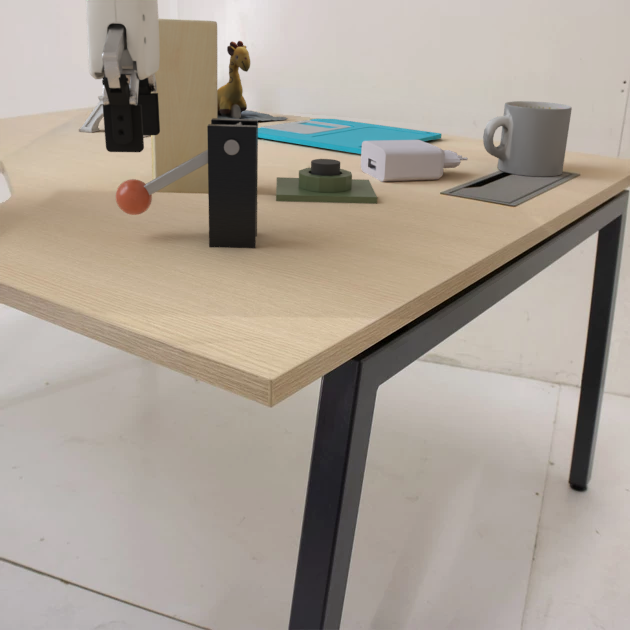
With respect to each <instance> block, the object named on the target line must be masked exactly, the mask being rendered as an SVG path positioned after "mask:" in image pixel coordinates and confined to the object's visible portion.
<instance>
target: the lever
mask: <svg viewBox="0 0 630 630" xmlns="http://www.w3.org/2000/svg"><path fill="white" fill-rule="evenodd" d="M236 125H242V123H241V122H239V123H237V124H236ZM207 163H208V150H206V151H204V152H202V153H200V154H199V155H197V156H195V157H193V158H191V159H190V160H188V161H186V162H184V163H182V164H181V165H179V166H177V167H175V168H173V169H172V170H170V171H168V172H166V173H164V174H163V175H161V176H159V177H157V178H155V179H154V180H152V179H151V180H150V181H148V182H147V183H145V182H144V181H143V180H140V179H136V178H135V179H134V178H132V179H131V178H130V179H126V180H124V181H122V182H121V183H120V185H118V187H117V189H116V190H115V191H116V192H115V202H116V205H117V206H118V208H119V209H120V210H121V211H122V212H123V213H125V214H127V215H129V216H130V215H131V216H138V215H142V214H144V213H145V212H147V211H148V209H149V208H150V207H151V205H152V201H153V194H155V193H158V192H157V191H158V190H160V189H162V188H164V187H166V186H167V185H169V184H171V183H173V182H175V181H176V180H178V179H180V178H182V177H184V176H185V175H187V174H189V173H191V172H193V171H195V170H196V169H198V168H200V167H202V166H204V165H205V164H207Z"/></svg>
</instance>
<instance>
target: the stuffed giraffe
mask: <svg viewBox="0 0 630 630" xmlns="http://www.w3.org/2000/svg"><path fill="white" fill-rule="evenodd" d="M226 52H227V54H228V55H229V56H230V58H229V64H228V76H229V78H228V82H227V83H225V84H224V85H222V86H221V87H219V88H217V118H221V119H255V120H258V122H259V121H261V122H265V121H285V120H288V119H289V118H288V117H286V116H273V115H270V114H269V113H263V112H259V111H254V110H248V109H247V108H248V105H247V101H246V99H245V97H244V95H243V92H244V90H243V86H242V80H241V77H240V73H239V69H241V71H242V72H246V73H248V71H249V70H250V68H251V57H250V53H249V51H248V49H247V46H246V45H245V44H244V42H243V41H241V40H238V41H237V43H236V42H235V41H230V42H229V45H227V47H226Z"/></svg>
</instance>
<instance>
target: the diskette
mask: <svg viewBox="0 0 630 630" xmlns="http://www.w3.org/2000/svg"><path fill="white" fill-rule="evenodd" d="M258 139H264V140H270V141H271V140H273V141H277V142H285V143H290V144H296V145H297V144H298V145H303V146H309V147H315V148H321V149H327V150H333V151H339V152H340V151H341V152H344V153H345V152H346V153H352V154H358V155H361V150H362V142H363V141H380V140H421V141H424V142H428V141H435V140H440V139H442V133H441V132H434V131H428V130H420V129H419V130H418V129H413V128H412V129H411V128H404V127H396V126H390V125H383V124H374V123H369V122H360V121H353V120H345V119H338V118H312V119H305V120H304V119H303V120H297V121H290V122H283V123H277V124H271V125H262V126H260V127H258Z"/></svg>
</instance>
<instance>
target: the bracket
mask: <svg viewBox="0 0 630 630" xmlns="http://www.w3.org/2000/svg"><path fill="white" fill-rule="evenodd" d="M239 122H241V123H242V125H236V124H237V123H239ZM258 128H259V121H258V120H255V119H221V118H212V120H211V124H208V126H207V133H208V194H207V196H208V197H207V198H208V247H209V248H221V249H222V248H223V249H224V248H225V249H227V248H228V249H256V248H257V237H258V177H259V176H258V172H259V171H258V168H259V165H258V163H259V161H258V160H259V154H258V153H259V137H258Z"/></svg>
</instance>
